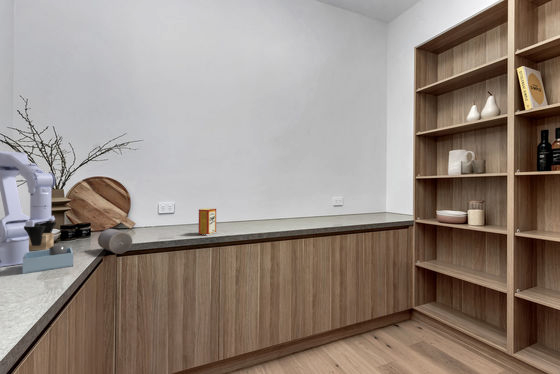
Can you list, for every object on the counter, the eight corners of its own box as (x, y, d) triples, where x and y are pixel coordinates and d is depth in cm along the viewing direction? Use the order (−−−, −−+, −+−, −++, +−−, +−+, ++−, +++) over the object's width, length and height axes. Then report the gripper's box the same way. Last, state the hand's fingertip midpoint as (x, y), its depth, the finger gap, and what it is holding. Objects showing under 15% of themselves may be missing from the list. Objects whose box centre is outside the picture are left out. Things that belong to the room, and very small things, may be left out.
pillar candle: (114, 251, 130) (128, 256, 121) (93, 245, 123) (106, 251, 114) (123, 231, 134) (137, 235, 124) (103, 225, 127) (116, 229, 117)
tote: (22, 273, 92) (22, 259, 92) (24, 265, 101) (24, 252, 101) (73, 266, 101) (73, 252, 101) (71, 259, 110) (71, 247, 110)
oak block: (45, 249, 96) (46, 235, 96) (28, 250, 94) (28, 235, 94) (53, 246, 100) (53, 233, 100) (37, 247, 99) (37, 233, 99)
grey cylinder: (66, 263, 102) (66, 245, 102) (49, 266, 99) (48, 247, 99) (66, 260, 106) (66, 242, 106) (50, 262, 103) (49, 244, 103)
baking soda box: (207, 232, 174) (207, 207, 174) (216, 233, 172) (216, 208, 172) (198, 235, 165) (198, 208, 165) (207, 235, 163) (208, 209, 163)
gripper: (43, 207, 91) (43, 247, 92) (63, 204, 105) (63, 239, 105) (17, 208, 89) (17, 248, 89) (41, 204, 103) (41, 239, 103)
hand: (40, 243), depth 97 cm, fingers closed on oak block, 5 cm apart
